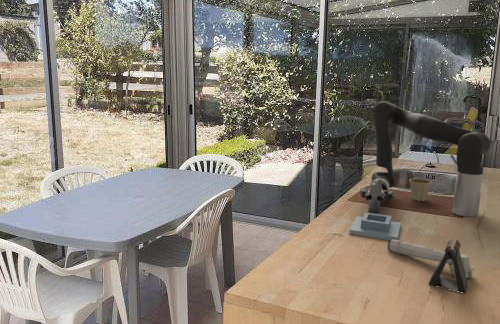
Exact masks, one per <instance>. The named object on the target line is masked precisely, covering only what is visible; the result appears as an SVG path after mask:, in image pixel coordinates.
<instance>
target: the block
mask: <svg viewBox="0 0 500 324" xmlns="http://www.w3.org/2000/svg"><path fill="white" fill-rule="evenodd" d="M351 224H352V225H351V226H350V228H349V230H348V232H349V235H356V236H361V237H367V238H368V237H369V238H373V239H380V240H386V241H389V240H391V239H394V240H398V238H399V234H400V230H401V227H402V226H401V225H402V222H400V221H399V222H398V221H393V220H392V216H391V215H386V214H385V215H384V214H381V213H379V214H373V213H368V212H364V214H363V216H360V215H359V216H358V215H356V217H355V218H354V221H353V223H351Z"/></svg>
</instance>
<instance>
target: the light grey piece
mask: <svg viewBox="0 0 500 324" xmlns="http://www.w3.org/2000/svg"><path fill="white" fill-rule="evenodd" d="M386 246H387V250H388V251H389V252H392V253H395V254H398V255H404V256H405V255H406V256H409V257H413V258H418V259H422V260H423V259H425V260H428V261H433V262H438V263H440V261H441V260H442V258H443V256H444V255H445V251H442V250H438V249H434V248H430V247H427V246H423V245H420V244H415V243H412V242H406V241H404V240H403V239H400V240H394V239H391V240H388V242H387V245H386ZM460 256H461V259H462V263H463V267H464V270H465V274H466V278H467V279H471V278H472V277H473V271H474V266H473V265H471V261H470V258H469V256H468V255H467V254H465V253H460ZM446 264H447V265H448V268H449V272H451V273H450V275H453V276H455V270H454V264H453V260H451V259H448V260H447V262H446Z"/></svg>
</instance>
